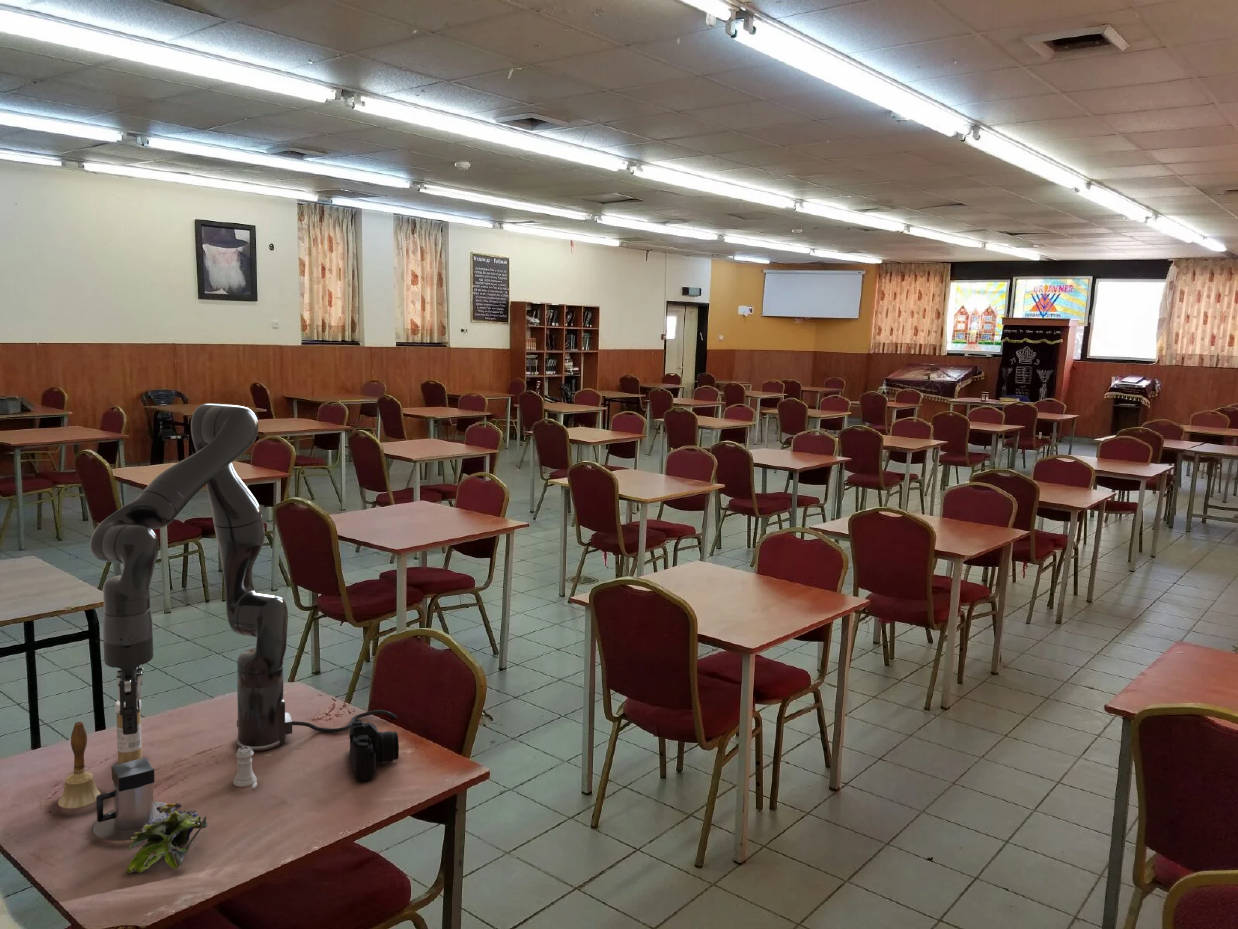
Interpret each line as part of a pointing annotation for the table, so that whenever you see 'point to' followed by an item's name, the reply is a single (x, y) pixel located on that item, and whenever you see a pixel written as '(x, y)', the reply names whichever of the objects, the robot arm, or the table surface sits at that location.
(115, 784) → the black-lidded handled container
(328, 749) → the table surface
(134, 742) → the sprinkles bottle
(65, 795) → the hand bell
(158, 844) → the passion flower
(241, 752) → the rook chess piece
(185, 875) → the table surface
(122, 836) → the disc
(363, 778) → the film camera
